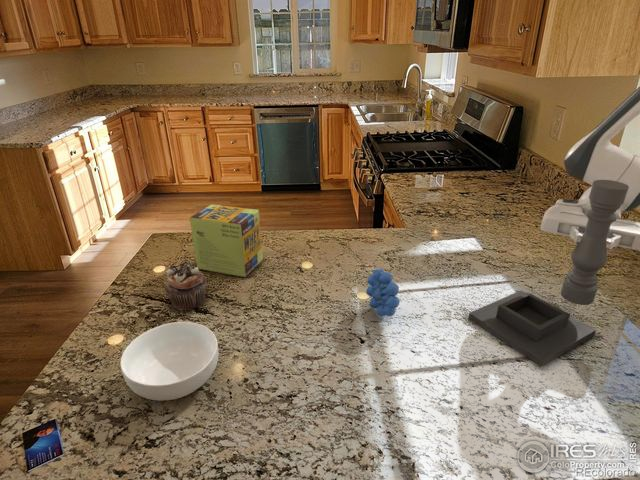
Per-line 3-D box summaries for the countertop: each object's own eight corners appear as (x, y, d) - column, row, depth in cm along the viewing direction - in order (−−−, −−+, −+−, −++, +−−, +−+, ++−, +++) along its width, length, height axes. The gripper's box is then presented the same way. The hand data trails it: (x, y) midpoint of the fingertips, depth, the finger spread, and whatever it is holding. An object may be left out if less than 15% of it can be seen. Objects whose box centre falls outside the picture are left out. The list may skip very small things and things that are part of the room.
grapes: (411, 324, 93) (416, 277, 88) (385, 332, 91) (388, 285, 86) (383, 297, 103) (386, 254, 98) (359, 304, 101) (361, 260, 95)
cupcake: (217, 297, 104) (212, 261, 100) (185, 317, 97) (179, 279, 92) (191, 286, 109) (185, 251, 104) (159, 304, 102) (151, 267, 97)
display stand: (594, 335, 89) (600, 318, 87) (541, 366, 81) (546, 348, 79) (520, 295, 103) (523, 279, 101) (468, 318, 95) (471, 301, 93)
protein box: (246, 278, 112) (241, 224, 105) (196, 269, 117) (188, 217, 110) (263, 259, 121) (259, 209, 114) (216, 252, 126) (210, 203, 119)
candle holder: (561, 285, 94) (591, 177, 83) (594, 293, 91) (629, 182, 80) (559, 299, 89) (591, 186, 78) (593, 308, 86) (631, 192, 75)
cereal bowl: (113, 379, 80) (104, 349, 76) (193, 338, 90) (188, 310, 87) (153, 433, 69) (145, 401, 65) (239, 379, 79) (235, 349, 76)
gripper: (649, 242, 91) (651, 270, 80) (544, 222, 101) (534, 245, 90) (659, 215, 88) (663, 240, 78) (550, 197, 98) (540, 217, 88)
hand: (592, 243), depth 84 cm, fingers closed on candle holder, 4 cm apart
